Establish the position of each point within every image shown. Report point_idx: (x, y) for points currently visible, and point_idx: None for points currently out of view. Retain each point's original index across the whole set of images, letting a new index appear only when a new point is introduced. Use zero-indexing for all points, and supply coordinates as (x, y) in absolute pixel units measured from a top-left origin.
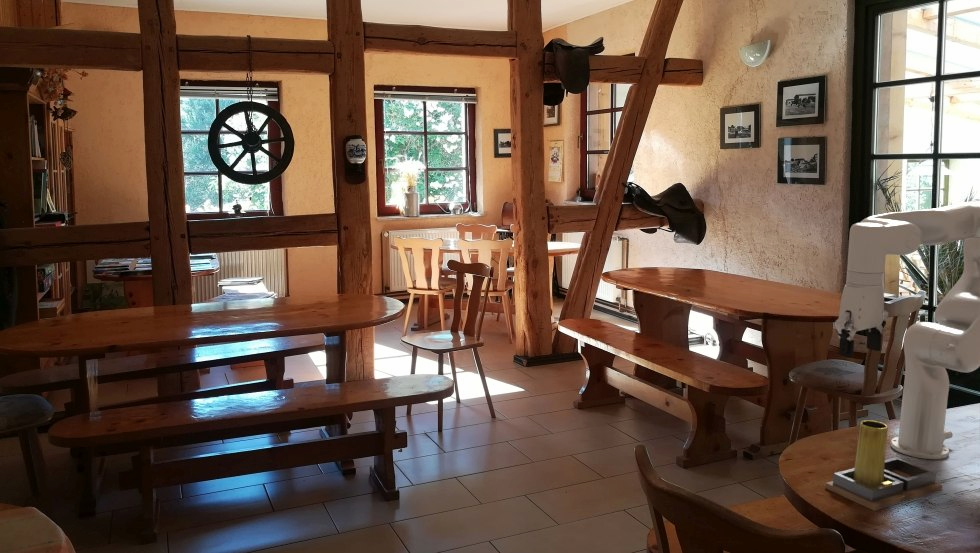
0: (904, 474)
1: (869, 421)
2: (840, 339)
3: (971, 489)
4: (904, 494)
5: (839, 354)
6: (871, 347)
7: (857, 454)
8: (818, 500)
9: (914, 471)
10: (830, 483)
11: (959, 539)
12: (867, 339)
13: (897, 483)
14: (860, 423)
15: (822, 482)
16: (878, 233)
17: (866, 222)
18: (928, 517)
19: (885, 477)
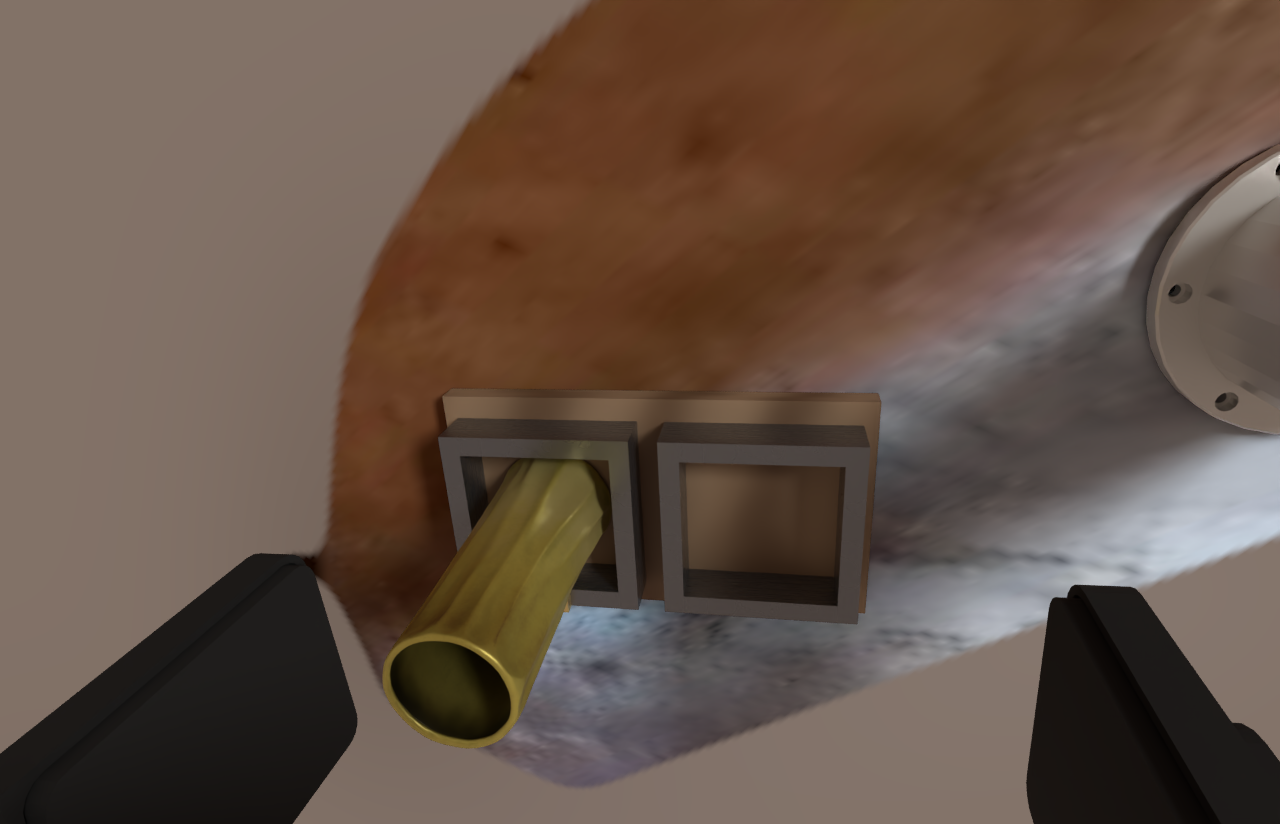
0: (823, 490)
1: (475, 648)
2: (7, 766)
3: (980, 645)
4: (644, 589)
5: (263, 557)
6: (1048, 710)
7: (459, 550)
8: (357, 445)
9: (838, 534)
10: (455, 408)
11: (571, 770)
12: (1131, 750)
13: (604, 605)
14: (393, 647)
15: (479, 346)
16: None
17: None
18: (609, 675)
19: (615, 549)
